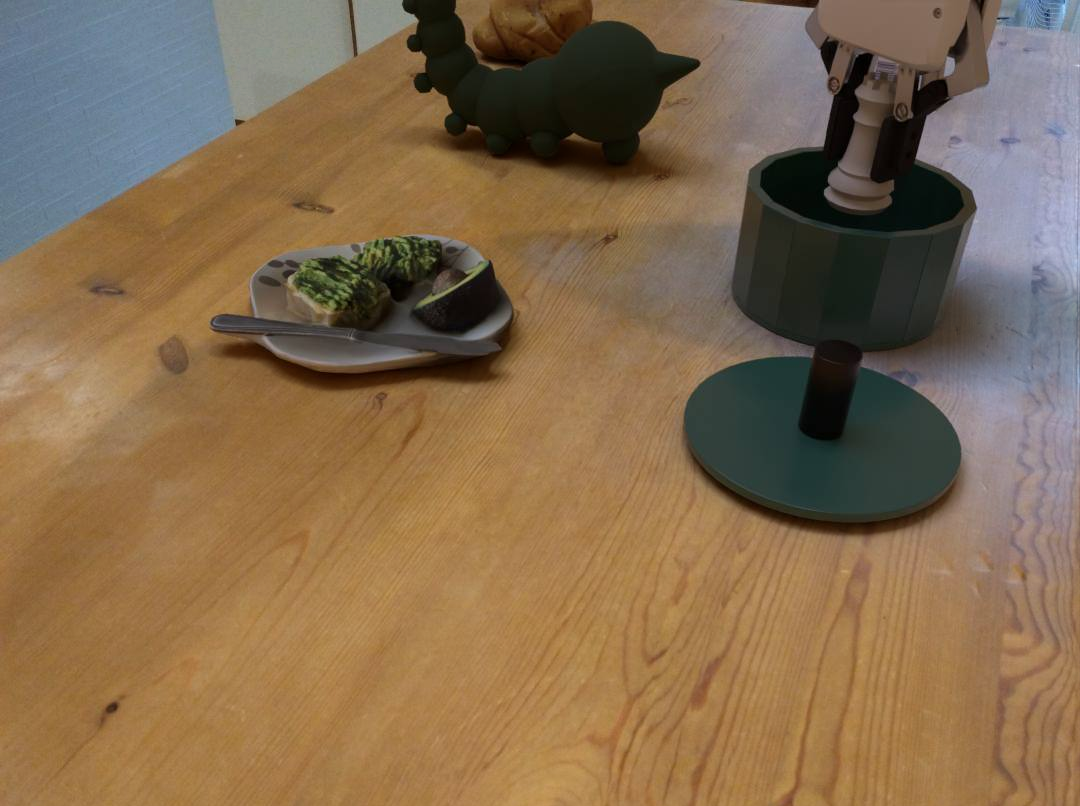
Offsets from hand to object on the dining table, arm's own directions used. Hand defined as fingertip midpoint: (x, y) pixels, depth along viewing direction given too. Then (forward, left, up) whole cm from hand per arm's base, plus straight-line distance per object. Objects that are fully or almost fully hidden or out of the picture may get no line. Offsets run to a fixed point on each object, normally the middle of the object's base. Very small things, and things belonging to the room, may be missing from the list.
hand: (865, 164), depth 69 cm
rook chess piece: (0, 0, -3) cm, 3 cm away
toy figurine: (+2, -33, -10) cm, 34 cm away
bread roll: (-12, -56, -10) cm, 58 cm away
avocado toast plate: (+28, -14, -10) cm, 33 cm away
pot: (0, 0, -10) cm, 10 cm away
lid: (+14, +12, -9) cm, 20 cm away
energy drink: (-35, -27, -10) cm, 45 cm away
